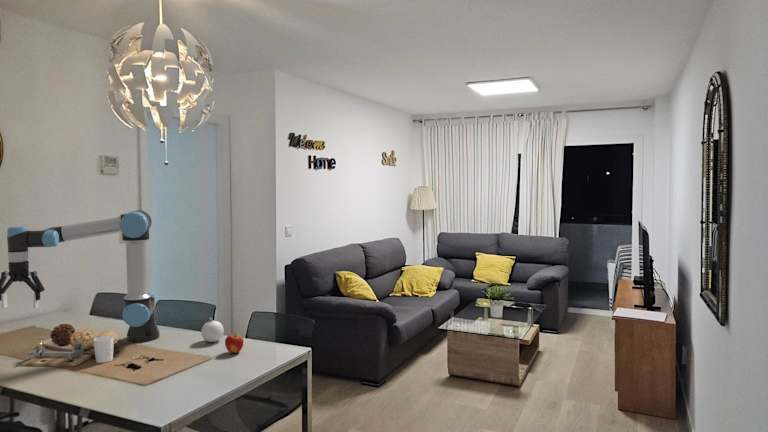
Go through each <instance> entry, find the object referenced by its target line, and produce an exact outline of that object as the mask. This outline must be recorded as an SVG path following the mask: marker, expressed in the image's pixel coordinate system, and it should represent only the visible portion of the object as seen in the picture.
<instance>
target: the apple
mask: <svg viewBox="0 0 768 432" xmlns="http://www.w3.org/2000/svg"><path fill="white" fill-rule="evenodd" d="M236 333H237V332H236V331H235V332H234V333H233V334H230V335H228V336H226V337H225V339H224V345H225V348H226V350H227V352H229V353H230V354H236V353H239V352H240V351H241V350H242V349H243V346H244V339H243V337H242V336H241V335H240V334H239V333H238V334H236Z"/></svg>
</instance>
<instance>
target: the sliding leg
mask: <svg viewBox="0 0 768 432" xmlns="http://www.w3.org/2000/svg"><path fill="white" fill-rule="evenodd" d="M42 351H46V348H45V346H44V345H43V342H42V341H37V342H35V343H34V347H33V348H32V350H31V351H28V352H27V353H26V355H27V356H28V360H32V359H33V358H35V357H40V352H42Z"/></svg>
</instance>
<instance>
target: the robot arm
mask: <svg viewBox="0 0 768 432" xmlns="http://www.w3.org/2000/svg"><path fill="white" fill-rule="evenodd" d="M151 226H152V217H151V216H150V214H149V213H148V212H146V211H144V210H139V209H137V210H132V211H129V212H127V213H123V214H120V215H118V217H111V218H110V217H109V218H103V219H98V220H92V221H86V222H85V221H84V222H80V223H73V224H67V225H63V226H53V227H49V228H45V229H43V230H28V227H27V226H26V225H25V226H24V225H23V226H22V225H21V226H19V225H18V226H17V225H16V226H9V227H8V228H7V232H6V238H7V260H8V261H9V262H8V270H9V271H6V270H5V271H2V272H1V276H0V301H1V309H6V308H8V293H7V292H6V291H7V290H8V289H9V288H10V286H11V285H12V284H13V283H14V282H15V283H16V282H21V283H22V282H23V283H25V284H26V285H27V286H28V287H29V288H30V289H31V291H33V295H32V297H33V299H32V300H33V309H36V308H39V307H40V304H39V303H40V300H41V293H43V292H44V291H45V287H44V286H43V284H42V282H41V280H40V278H39V276H38V273H37V271H36V270H33V271H30V269H29V268H30V266H29V264H30V263H29V248H51V247H52V248H53V247H57V246H58V245H59V244H60V243H64V242H71V241H77V240H81V239H88V238H89V239H90V238H94V237H101V236H107V235H111V234H118V233H119V234H121V240H122V242H123V243H124V244H125V254H126V255H125V257H126V289H127V290H126V291H127V292H126V294H125V296H124V297H123V310H122V312H121V313H122V316H121V317H122V320H123V322H124V323H125V324H126V325H128V326H129V327H128V330H127V334H126V341H128V342H131V343H143V342H144V343H145V342H149V341H154V340H157V339H159V338H160V334H161V333H160V329H159V327H158V324H157V322H156V297H155V293H154V292H153V291H152V292H150V291H148V278H147V275H148V274H147V273H148V272H147V271H148V270H147V243H148V241H149V240H150V229H151ZM8 276H9V277H10V278H9V279H7V278H8ZM30 277H31V278H30ZM6 280H7V282H6Z"/></svg>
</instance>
